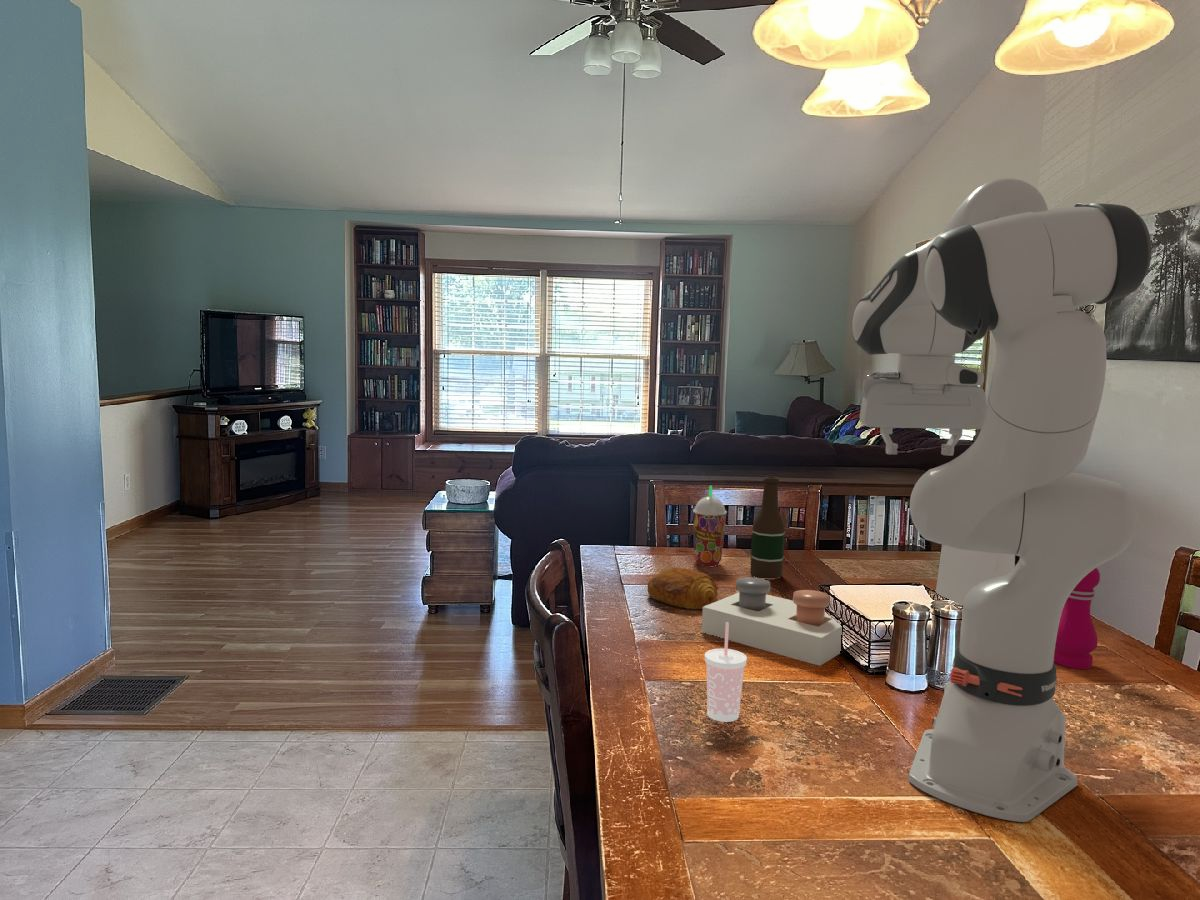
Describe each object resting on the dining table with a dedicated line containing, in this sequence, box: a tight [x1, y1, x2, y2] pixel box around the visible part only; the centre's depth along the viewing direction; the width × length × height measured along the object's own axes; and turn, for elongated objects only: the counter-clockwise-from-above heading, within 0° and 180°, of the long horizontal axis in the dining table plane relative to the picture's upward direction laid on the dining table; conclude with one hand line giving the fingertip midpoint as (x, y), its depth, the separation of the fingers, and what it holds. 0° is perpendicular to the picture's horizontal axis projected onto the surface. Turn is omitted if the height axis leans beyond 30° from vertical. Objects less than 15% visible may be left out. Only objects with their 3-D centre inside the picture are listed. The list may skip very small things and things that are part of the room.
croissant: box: [647, 566, 719, 610], centre depth 176 cm, size 14×16×8 cm
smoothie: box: [692, 485, 728, 567], centre depth 205 cm, size 8×8×20 cm
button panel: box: [701, 592, 842, 667], centre depth 154 cm, size 16×24×5 cm, turn 50°
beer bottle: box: [750, 475, 786, 578], centre depth 196 cm, size 8×8×24 cm
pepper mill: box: [1053, 567, 1101, 670], centre depth 144 cm, size 7×7×20 cm
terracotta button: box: [792, 589, 831, 627], centre depth 150 cm, size 6×6×6 cm
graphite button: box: [735, 576, 771, 611], centre depth 157 cm, size 6×6×6 cm
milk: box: [935, 544, 1016, 605], centre depth 166 cm, size 12×12×26 cm
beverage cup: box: [704, 622, 748, 723], centre depth 120 cm, size 6×6×14 cm
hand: (919, 454), depth 140 cm, fingers open, 8 cm apart
